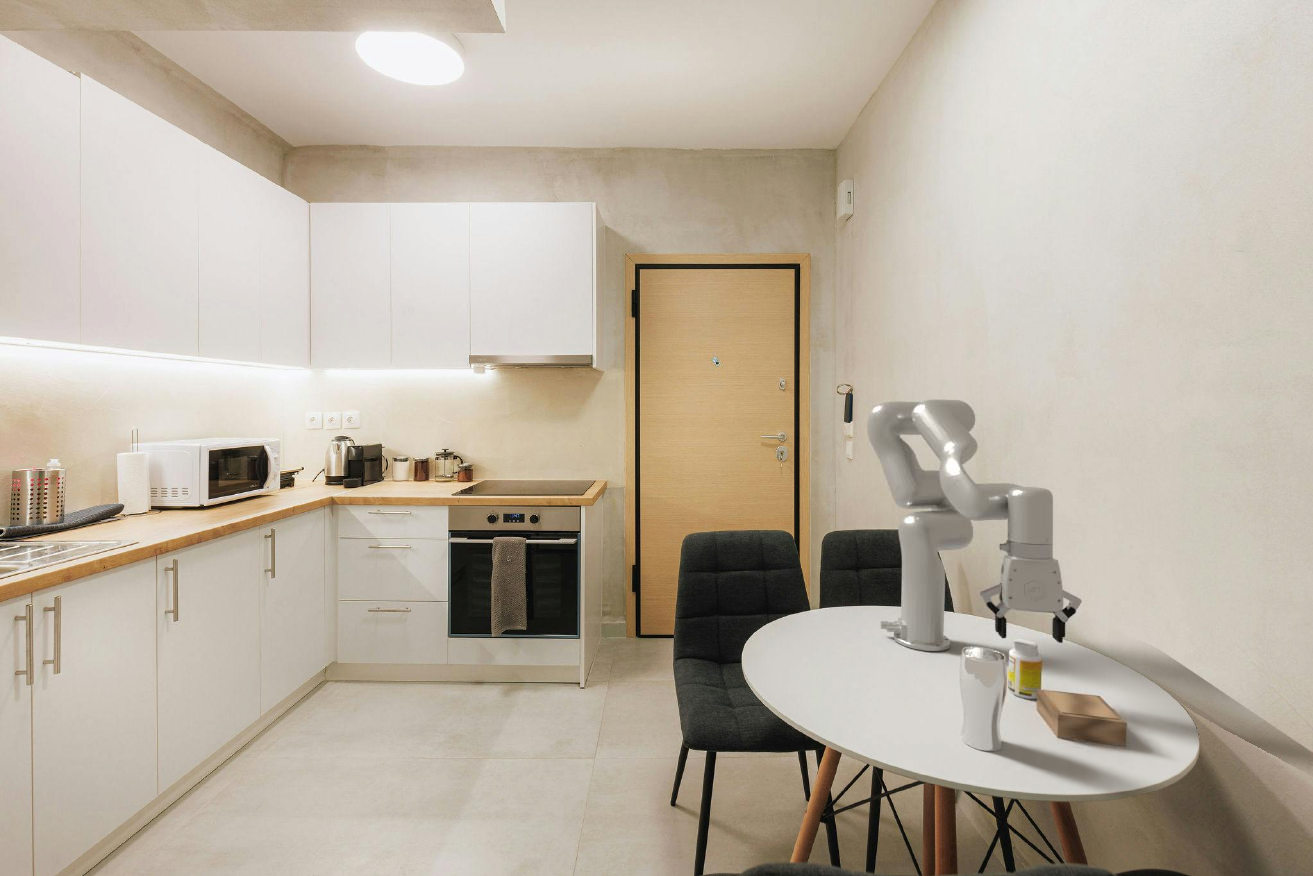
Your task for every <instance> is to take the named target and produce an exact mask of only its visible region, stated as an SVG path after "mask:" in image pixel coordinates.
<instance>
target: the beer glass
mask: <svg viewBox="0 0 1313 876" xmlns="http://www.w3.org/2000/svg"><path fill="white" fill-rule="evenodd" d="M1007 667H1008V666H1007V656H1006V655H1005V654H1004V653H1002V652H1001V651H998V650H996V649H992V648H989V647H986V646H975V645H972V646H965V647H962V649H961V655H960V663H959V687H960V696H961V702H962V709H963V723H962V727H961V732H960V740H961V741H962V742H963V743H965V745H967V746H968V747H970V748H973V749H975V750H979V751H981V752H997V751H999V750H1001V749H1002V746H1003V745H1002V743H1003V742H1002V738H1001V737H1002V736H1001V731H1000V727H1001V726H1000V725H1001V717H1002V713H1003V708H1004V705H1005V699H1006V696H1007V691H1008V690H1007V688H1008V669H1007Z"/></svg>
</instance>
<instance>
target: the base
mask: <svg viewBox="0 0 1313 876" xmlns="http://www.w3.org/2000/svg"><path fill="white" fill-rule="evenodd" d="M1036 711H1037V712H1038V714H1039V715H1040V717H1041V718H1042V719H1043V721H1044V722H1045V723H1046V725H1047V726H1048V727H1049V728H1050V729H1051V730H1050V731H1052V732H1053V734H1054V735H1055V736H1056V738H1058V739H1065V740H1074V741H1081V742H1089V743H1096V744H1103V745H1104V744H1105V745H1111V746H1120V747H1126V746H1127V732H1128V731H1127V729H1128V728H1127V727H1128V726H1127V724H1128V722H1127V721H1126V720H1125V719H1124V718H1123V717H1122V716H1121V715H1120V714H1118V712H1116V710H1115V709H1114V708H1112V706H1110V705H1109V703H1107V702H1106V701H1105V700H1104V698H1102V697H1101V696H1100V695H1095V694H1094V695H1093V694H1087V693H1076V692H1067V691H1061V690H1060V691H1057V690H1048V689H1042V688H1041V689H1037V699H1036Z"/></svg>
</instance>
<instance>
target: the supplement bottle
mask: <svg viewBox="0 0 1313 876" xmlns="http://www.w3.org/2000/svg"><path fill="white" fill-rule="evenodd" d="M1042 669H1043V658H1042V655H1041V654H1040V653H1039V652H1038V644H1037V643H1036V642H1034V641H1032V640H1029V639H1023V638H1016V639H1015V640H1013V648H1011V649H1009V651H1008V671H1007V688H1008V691H1009V692H1010V693H1011V694H1012V695H1014V696H1016V697H1018V698H1023V699H1027V700H1037V689H1042V672H1043V670H1042Z"/></svg>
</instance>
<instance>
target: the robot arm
mask: <svg viewBox="0 0 1313 876" xmlns="http://www.w3.org/2000/svg"><path fill="white" fill-rule="evenodd" d="M866 423H867V424H866V425H867V426H866V429H867V431H866V432H867V435H868V439H869V442H870V444H871V447H872V448H873V450H874V452H875V454H876V456H877V458H878V460H879V462H880V464H881V467H882V471H883V473H884V476H885V480H886V482H887V484H888V488H889V490H890V493H891V496H892V498H893V500H894V502H895V504H896V506H897V507H899V508H902V509H905V510H906V509H907V510H922V509H931V510H923V511H914V512H910V513H908V514H906V515H905V516H904V517H902V518H901V520H900V522H899V523H898V529H897V530H898V539H899V544H900V552H901V596H900V598H901V599H900V600H901V603H900V617H898V618H897V620H893V622H892V621H886V620H880V624H879V627H880V628H879V629H880V630H886V633H887V632H888V633H893V640H894V641H896V643H898V644H899V645H901V646H904V647H906V648H910V649H913V650H914V649H915V650H917V651H918V650H919V651H925V652H941V651H946V650H948V649H950V647H951V639H949V637H948V636H946V635H945V634H944V632H945V630H944V629H945V627H944V624H945V598H946V596H945V594H946V593H945V591H946V570H945V569H946V568H945V567H944V564H943V562H942V560H941V558H940V556H939V553H938V552H941V551H942V552H943V551H954V550H962V549H965V548H967V547H968V546H969V545H970V544H971V542H972V541H973V537H974V527H973V523H972V521H975V522H976V521H977V522H978V521H979V522H981V521H1003V520H1007V539H1006V541H1005V542H1004V543H999V546H998V547H999V550H1000V551H1004V552H1006V554H1005V555H1004V556H1003V558H1002V562H1001V568H1000V575H999V583H998V584H996V585H994V586H991V587H990V588H987V589H984V590H982V591H980V592H979V596H980V597H981V600H983V602H984V604H985V606H986V607H987V608H988V609H989V610H991V612H992V613H994V631H995V632H996V633H997V634H998V635H999V637H1000V638H1001V639H1006V638H1007V618H1006V616H1005V615H1006V614H1007V613H1009V611H1010V610H1012V611H1018V612H1019V611H1020V612H1034V613H1035V612H1036V613H1046V614H1048V613H1050V614H1053V615H1054V616H1053V618H1052V622H1051V623H1052V624H1051V625H1052V627H1051V628H1052V632H1051V633H1052V638H1053V639H1054V641H1056V642H1058V643H1059V644H1060V643H1061V644H1062V643H1063V642H1064V640H1063V639H1064V638H1065V637H1066V623H1067V622H1068V621H1069V619H1070V618H1071V617H1073V616H1074V615H1075V614H1076V613H1077V610H1078V609H1079V607H1080V605H1081V604H1082V602H1083V601H1082V599H1081V598H1079V596H1076V595H1074V594H1073V593H1070V592H1068V591H1066V590H1064V589H1063V582H1062V580H1063V579H1062V575H1061V574H1062V573H1061V569H1060V563H1059V560H1058V559H1055V558H1053V557H1054V556H1053V555H1054V554H1053V553H1054V551H1053V550H1054V544H1053V543H1054V536H1053V535H1054V497H1053V494H1052V492H1051V491H1050V490H1049V489H1047V488H1044V487H1035V486H1034V487H1033V486H1022V485H1018V484H1015V483H1008V482H1006V483H1005V482H1004V483H997V482H996V483H994V482H993V483H975V482H974V480H973V479H972V478H971V477H970V475H969V474H968V472H967V471H966V470H965V468H964V466H963V465H964V464H966V463H967V462H969V460H971V459H972V458H973V457H974V456H975V454H976V453H977V450H978V448H979V447H978V441H977V440H976V439H975V438H974V436H972V435H971V433H970V432H971V431H972V430H973V429H974V426H975V423H976V414H975V412H974V409H973V408H972V407H971V406H970V405H969V404H968V403H967V402H965V401H963V400H958V399H926V400H924V401H901V400H900V401H899V400H898V401H896V400H895V401H885V402H881V403H879V404H877V405H875V406H874V407H873V408H872V409H871V410H870V412H869V414H868V417H867V422H866ZM901 435H904V436H905V435H906V436H912V435H915V436H917V435H918V436H921V437H922V438H923V440H924V441H925V442H926V444H927V445H928V447H929V448H930V449H931V450H932V452H933V453H934V455H935V456H936V457H937V459H938V460H939V461H940V465H939V469H938V470H935V469H933V470H925V469H923V468H922V467H921V465H920V463H919V461H918V459H917V455H916V453H915V451H914V450H913V449H912V447H911V446H910V445H909V444H908V442H906V441H905V440H904V439H903V438H901ZM996 595H998V597H999V598H998V599H999V602H998V603H997V605H995V604H994V602H993V600H992V597H994V596H996ZM1064 599H1066V600H1067V601H1069V602H1068V605H1066V606H1065V607H1064Z"/></svg>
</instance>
